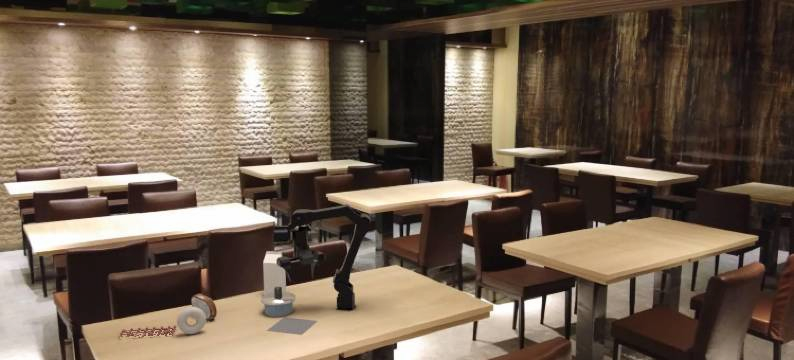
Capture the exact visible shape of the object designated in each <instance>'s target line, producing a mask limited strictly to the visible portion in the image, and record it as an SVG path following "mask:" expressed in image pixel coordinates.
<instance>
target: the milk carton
mask: <svg viewBox="0 0 794 360" xmlns="http://www.w3.org/2000/svg"><path fill="white" fill-rule="evenodd" d="M278 257H284V256H283V252H282V251H269V250H268V251H266V252H265V256H264V259H263V261H262V262H263V263H262V265H263V267H262V269H263V270H262V271H263V291H264V293H263V296H264V295H266V294H269V293H274V287H282V292H287V281H286V278H287V273H286V271H285V270H284V269H283V268H282V267H280V266H278V265H277V262H276V260H277V258H278Z"/></svg>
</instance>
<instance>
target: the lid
mask: <svg viewBox="0 0 794 360" xmlns="http://www.w3.org/2000/svg"><path fill="white" fill-rule="evenodd" d="M296 299H297V296H296V294H294V293H291V292H290V291H286V292H282V287H274V293H269V294H266V295H264V294H263V295H262V296H261V297H260V303H261V304H263V305H264V304H266V305H284V304H288V303H291V302H292V303H294V302H295V301H296Z"/></svg>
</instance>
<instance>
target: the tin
mask: <svg viewBox="0 0 794 360" xmlns="http://www.w3.org/2000/svg"><path fill="white" fill-rule="evenodd" d="M190 300H191V303H190V304H191V307H197V308H200V309H201V310H202V311H203V312H204V313H205V316H206V321H209V320H210V321H211V320H213V319H215V318H216V317H217V315H218V313H217V312H218V311H217V306H216V303H215V301H214V300H213V299H212V298H211V297H209V296H207V295H204V294H202V293H197V294H194V295H193V296H191V299H190Z"/></svg>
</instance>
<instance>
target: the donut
mask: <svg viewBox="0 0 794 360" xmlns="http://www.w3.org/2000/svg"><path fill="white" fill-rule="evenodd" d="M191 317H194V318H195V319H196V321H195V323H193V324H189V323H188V319H189V318H191ZM206 322H207V320H206V316H205V313H204V312H203V311H202V310H201V309H200V308H197V307H192V306H190V307H186V308H184V309H182V310H181V312H180V313H179V314H178V316H177V318H176V325H177V327H178V329H179V331H181V332H182V333H184V334H186V335H194V334H197V333H199V332H201V331H202V329H204V328H205V326H206V324H207V323H206Z"/></svg>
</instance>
